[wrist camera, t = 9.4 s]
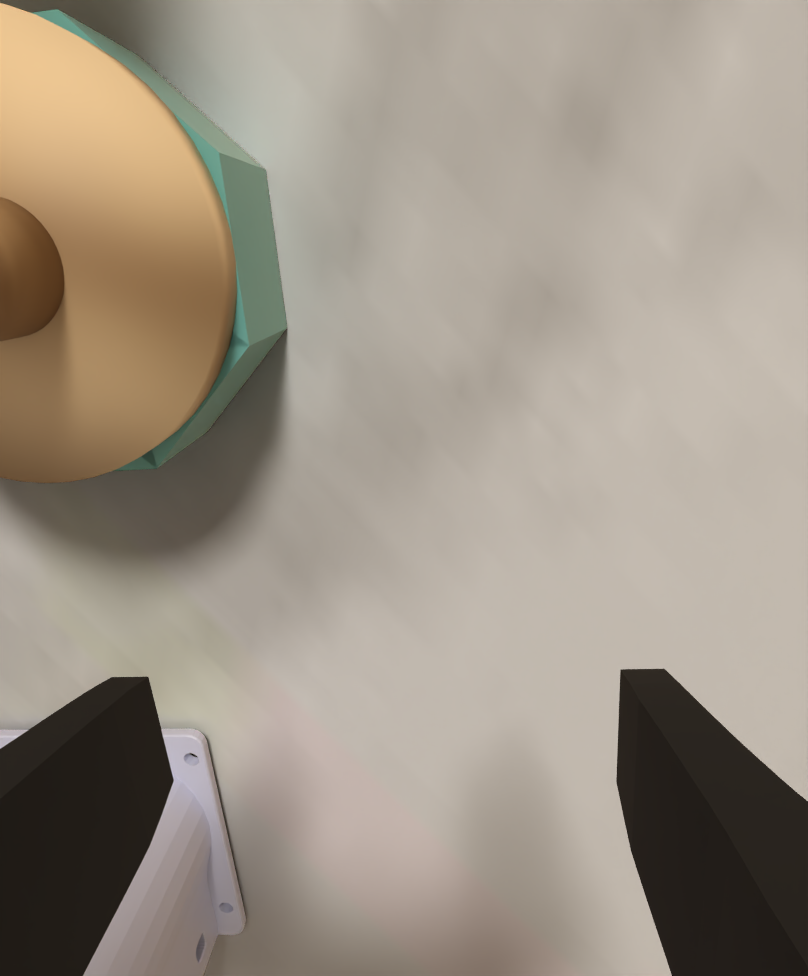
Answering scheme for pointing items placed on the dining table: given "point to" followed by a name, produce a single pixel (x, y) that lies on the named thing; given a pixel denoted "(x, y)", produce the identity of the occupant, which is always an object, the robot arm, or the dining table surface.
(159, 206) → the lid
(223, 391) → the bowl
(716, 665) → the dining table surface
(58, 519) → the dining table surface
